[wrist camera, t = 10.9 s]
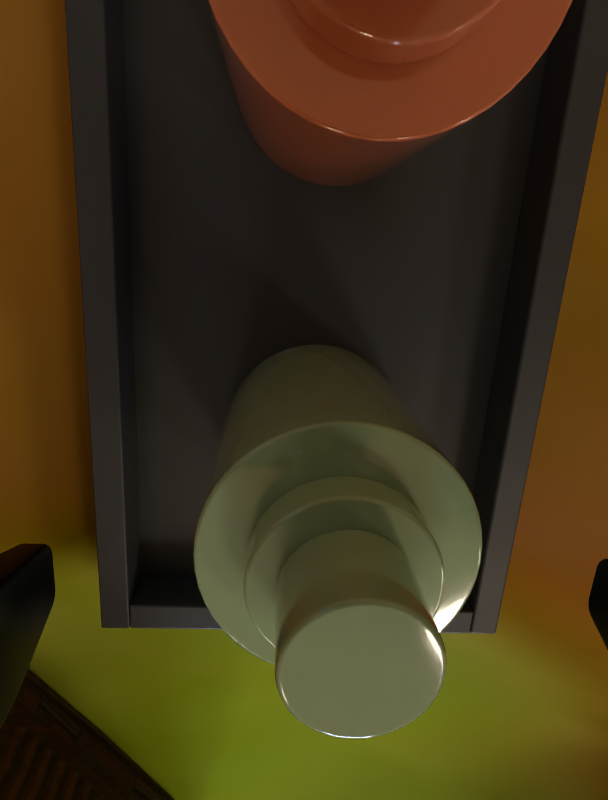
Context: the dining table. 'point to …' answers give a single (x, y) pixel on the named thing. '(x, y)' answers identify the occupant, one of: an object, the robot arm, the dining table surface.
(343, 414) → the green bottle
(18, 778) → the dark brown piece
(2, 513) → the dining table surface
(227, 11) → the terracotta bottle
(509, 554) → the tray
